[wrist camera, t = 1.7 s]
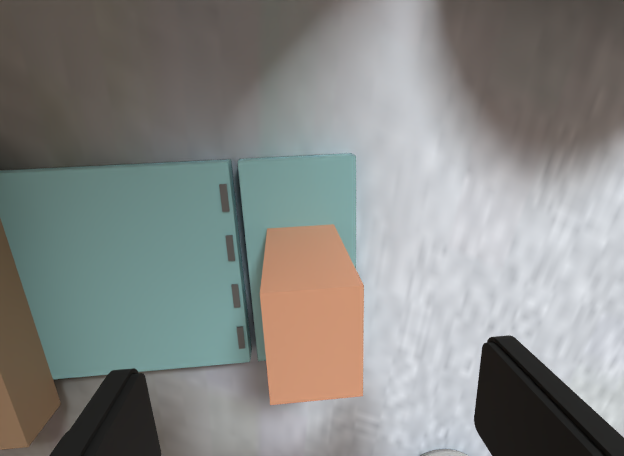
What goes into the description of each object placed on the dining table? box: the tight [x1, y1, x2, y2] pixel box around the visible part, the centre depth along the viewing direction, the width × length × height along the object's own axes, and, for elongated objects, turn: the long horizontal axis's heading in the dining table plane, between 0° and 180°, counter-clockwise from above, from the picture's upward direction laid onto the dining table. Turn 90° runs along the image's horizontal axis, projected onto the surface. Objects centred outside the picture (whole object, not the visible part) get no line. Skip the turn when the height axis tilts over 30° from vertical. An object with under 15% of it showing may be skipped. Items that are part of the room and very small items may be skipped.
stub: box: [238, 153, 364, 405], centre depth 14 cm, size 10×5×7 cm, turn 2°
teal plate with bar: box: [0, 159, 252, 450], centre depth 15 cm, size 13×14×3 cm
